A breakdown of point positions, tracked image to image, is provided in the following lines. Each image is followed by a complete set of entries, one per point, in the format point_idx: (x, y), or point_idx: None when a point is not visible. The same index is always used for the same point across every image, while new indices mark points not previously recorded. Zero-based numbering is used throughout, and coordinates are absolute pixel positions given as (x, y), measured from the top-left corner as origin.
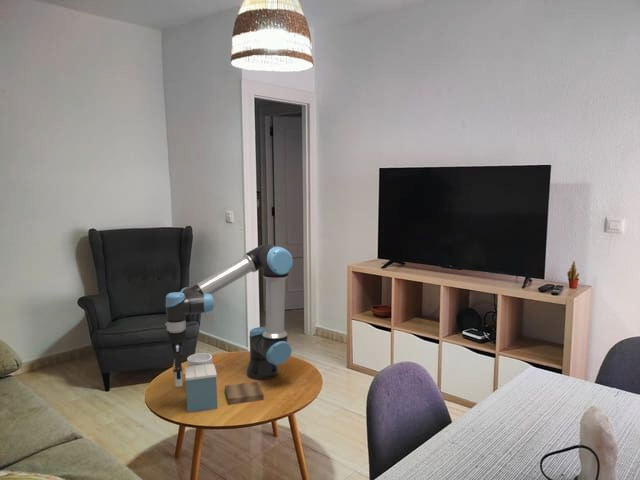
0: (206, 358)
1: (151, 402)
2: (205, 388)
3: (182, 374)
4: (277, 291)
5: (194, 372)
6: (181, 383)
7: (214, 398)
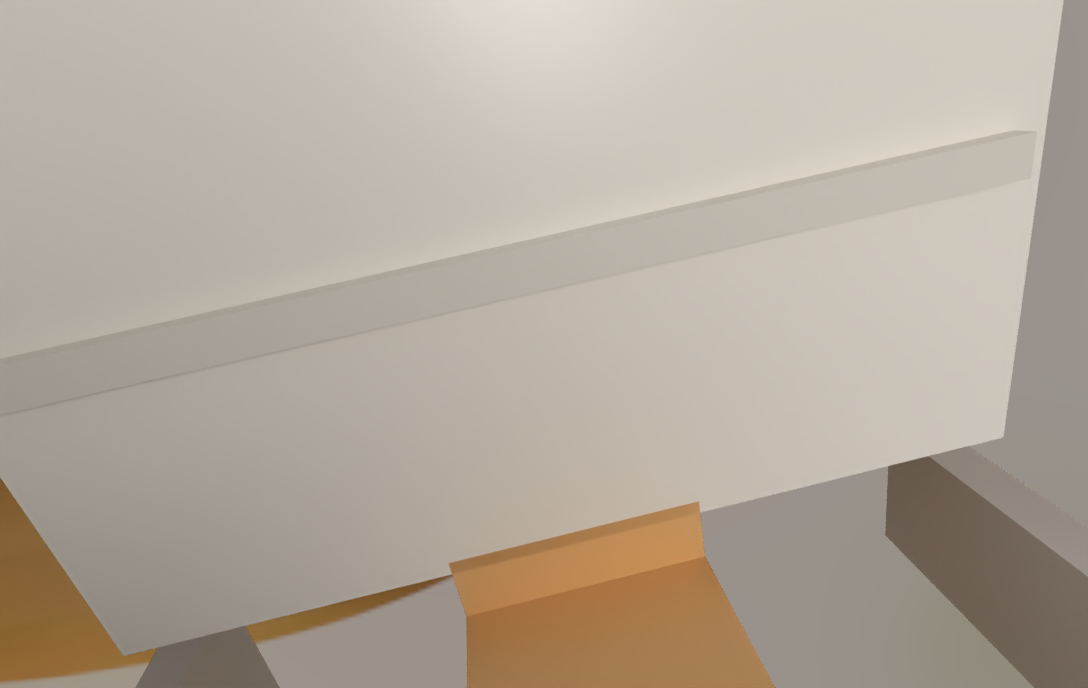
0: None
1: (394, 598)
2: None
3: (705, 572)
4: None
5: (630, 265)
6: (966, 463)
7: None
